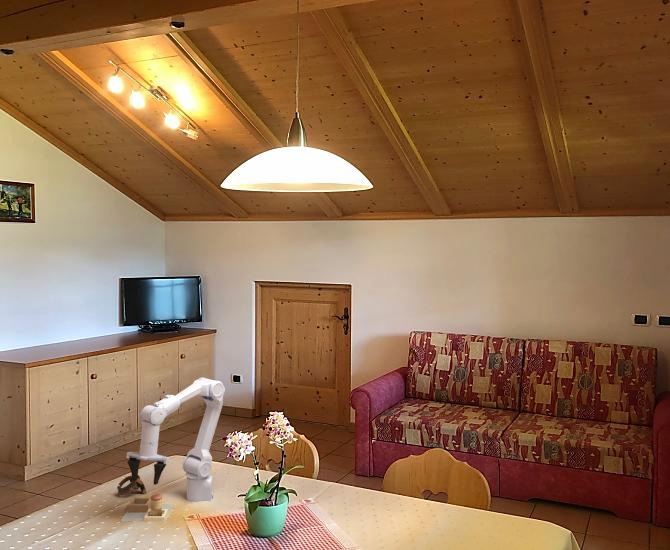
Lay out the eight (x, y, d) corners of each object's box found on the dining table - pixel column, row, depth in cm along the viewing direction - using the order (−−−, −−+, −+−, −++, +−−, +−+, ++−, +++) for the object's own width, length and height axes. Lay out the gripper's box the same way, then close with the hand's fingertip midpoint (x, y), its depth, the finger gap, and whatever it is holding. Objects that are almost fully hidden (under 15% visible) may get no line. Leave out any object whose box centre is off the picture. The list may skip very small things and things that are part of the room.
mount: (174, 507, 237) (174, 497, 237) (166, 524, 223) (166, 513, 223) (131, 507, 237) (131, 497, 236) (120, 524, 223) (120, 513, 223)
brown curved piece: (146, 500, 244) (135, 483, 241) (123, 511, 244) (111, 494, 242) (151, 480, 255) (140, 464, 253) (129, 491, 256) (118, 475, 253)
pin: (162, 514, 229) (162, 494, 228) (160, 519, 225) (160, 498, 224) (151, 514, 228) (151, 494, 228) (149, 519, 225) (149, 498, 224)
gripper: (123, 441, 224) (119, 482, 223) (164, 447, 221) (160, 488, 221) (133, 437, 231) (129, 477, 230) (173, 442, 228) (169, 483, 228)
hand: (145, 482), depth 226 cm, fingers open, 7 cm apart
